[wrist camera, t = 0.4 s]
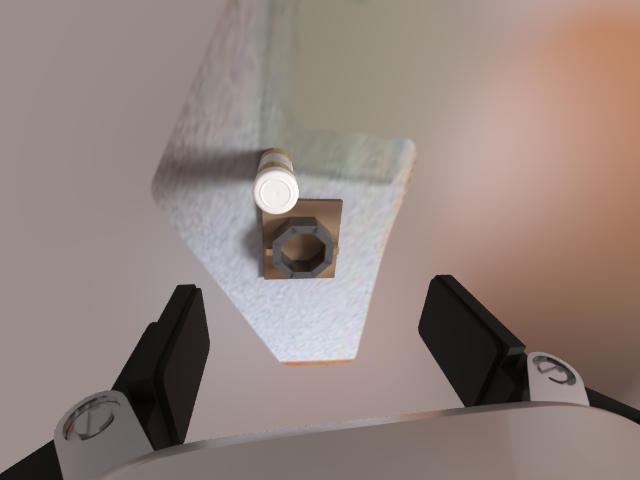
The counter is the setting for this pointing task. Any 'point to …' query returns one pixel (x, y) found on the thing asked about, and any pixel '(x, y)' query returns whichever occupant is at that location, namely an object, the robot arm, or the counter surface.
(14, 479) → the robot arm
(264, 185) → the sprinkles bottle
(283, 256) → the socket
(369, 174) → the counter surface
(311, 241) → the walnut board
